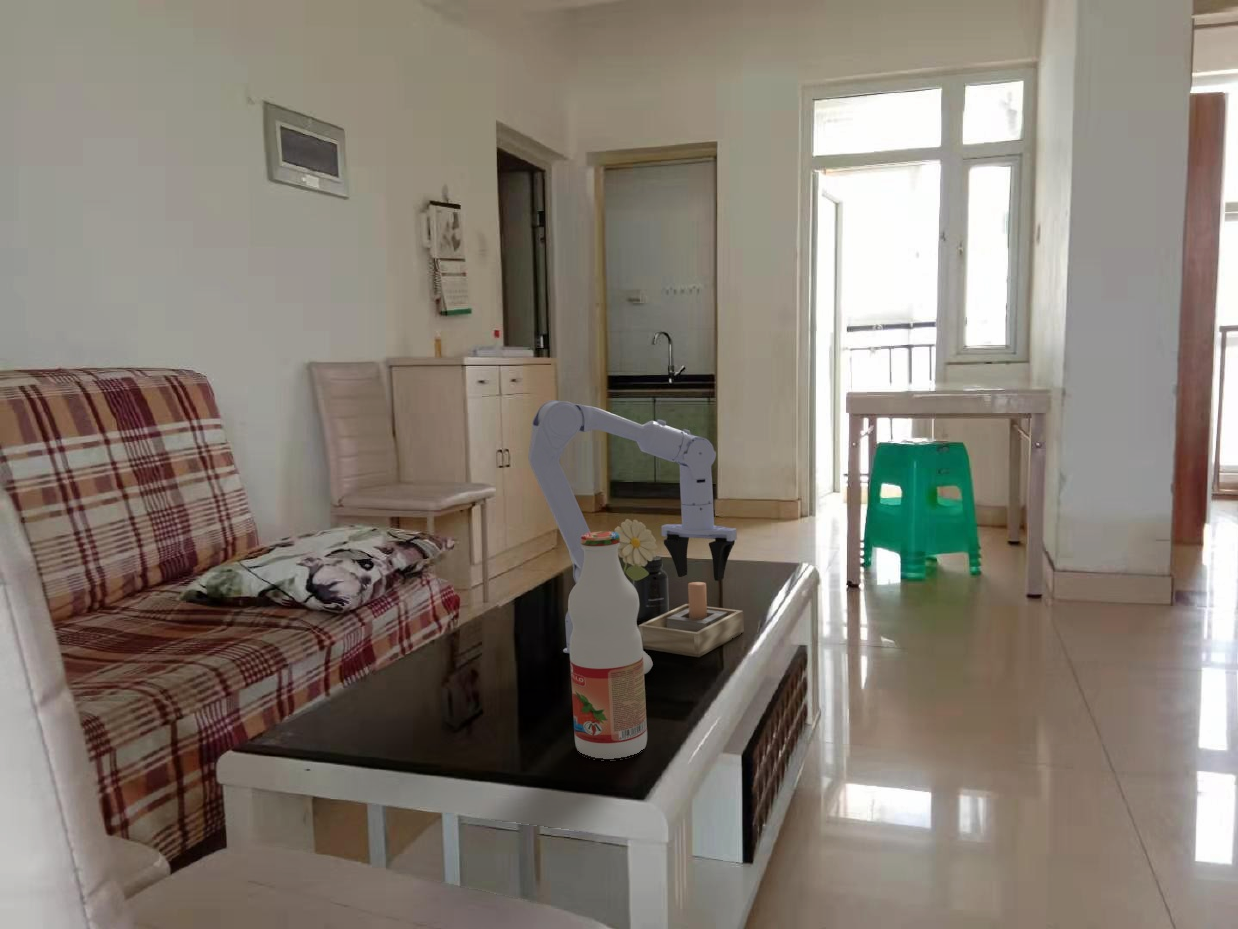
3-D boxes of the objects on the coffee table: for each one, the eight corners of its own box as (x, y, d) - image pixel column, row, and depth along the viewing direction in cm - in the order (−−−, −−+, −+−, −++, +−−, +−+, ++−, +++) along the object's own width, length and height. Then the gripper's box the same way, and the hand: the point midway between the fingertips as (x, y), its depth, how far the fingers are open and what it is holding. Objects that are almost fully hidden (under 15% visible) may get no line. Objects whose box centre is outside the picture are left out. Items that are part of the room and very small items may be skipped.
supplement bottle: (656, 625, 176) (653, 562, 175) (627, 620, 180) (624, 559, 179) (676, 616, 182) (673, 555, 180) (648, 612, 186) (645, 553, 184)
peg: (702, 636, 165) (700, 586, 164) (686, 634, 167) (684, 585, 166) (710, 632, 167) (709, 583, 167) (695, 630, 169) (693, 581, 168)
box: (699, 657, 155) (698, 634, 155) (639, 647, 162) (638, 625, 162) (743, 632, 168) (742, 610, 168) (686, 624, 175) (685, 603, 175)
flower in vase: (591, 692, 141) (582, 530, 139) (575, 669, 152) (566, 519, 150) (672, 680, 145) (665, 521, 142) (651, 659, 156) (643, 511, 153)
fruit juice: (651, 759, 116) (640, 538, 113) (575, 765, 116) (562, 543, 113) (644, 730, 125) (634, 525, 123) (574, 735, 125) (562, 530, 122)
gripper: (743, 501, 165) (747, 576, 166) (674, 498, 173) (678, 569, 175) (724, 507, 159) (727, 585, 160) (653, 503, 168) (657, 577, 169)
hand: (700, 577), depth 167 cm, fingers open, 7 cm apart
